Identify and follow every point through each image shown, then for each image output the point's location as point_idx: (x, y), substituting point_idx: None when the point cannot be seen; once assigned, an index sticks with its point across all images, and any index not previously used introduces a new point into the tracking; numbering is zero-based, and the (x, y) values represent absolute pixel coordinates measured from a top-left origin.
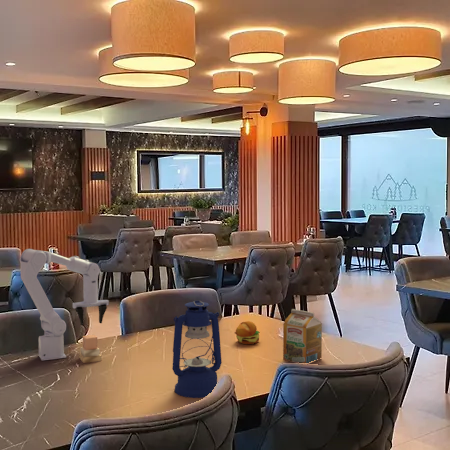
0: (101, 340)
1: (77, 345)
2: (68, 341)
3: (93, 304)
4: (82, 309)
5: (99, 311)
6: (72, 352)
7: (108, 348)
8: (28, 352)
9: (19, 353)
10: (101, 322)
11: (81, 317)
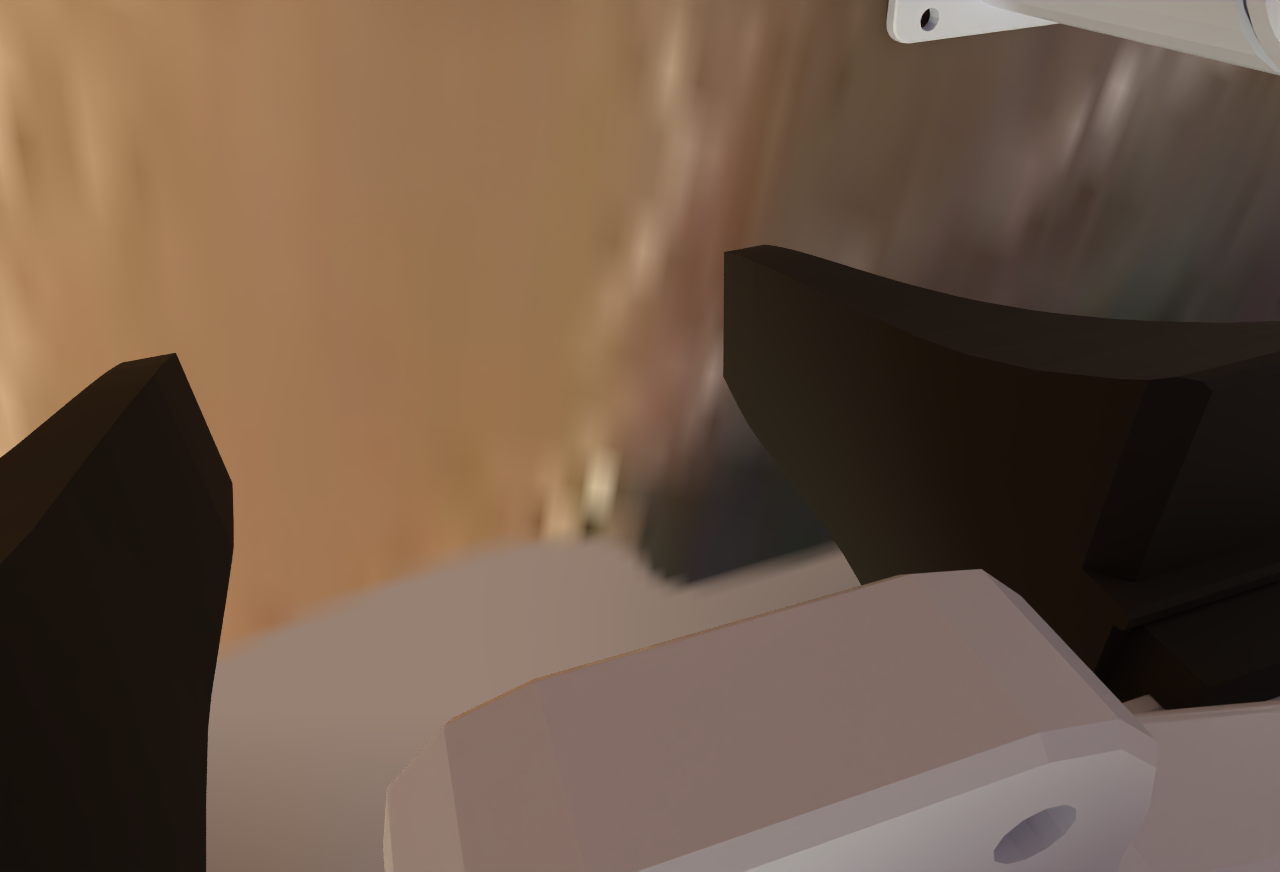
0: (255, 565)
1: (612, 387)
2: (686, 567)
3: (715, 712)
4: (1208, 424)
5: (163, 786)
6: (746, 12)
7: (60, 55)
8: (1184, 220)
9: (1265, 207)
10: (123, 364)
11: (925, 306)
